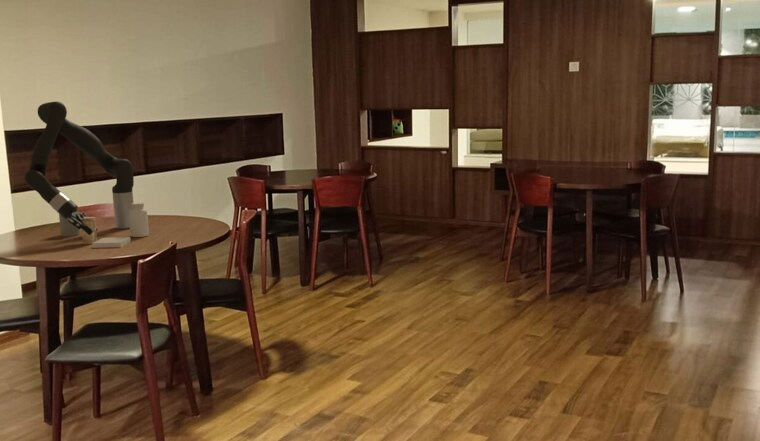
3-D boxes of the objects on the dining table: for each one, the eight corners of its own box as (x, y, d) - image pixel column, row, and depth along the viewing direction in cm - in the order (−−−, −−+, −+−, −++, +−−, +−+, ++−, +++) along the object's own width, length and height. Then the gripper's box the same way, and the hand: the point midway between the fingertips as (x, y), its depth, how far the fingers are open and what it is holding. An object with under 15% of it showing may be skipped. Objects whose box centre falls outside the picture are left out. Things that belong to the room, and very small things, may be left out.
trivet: (103, 242, 329) (102, 237, 329) (130, 241, 329) (130, 237, 329) (92, 247, 318) (92, 243, 317) (121, 247, 317) (120, 242, 317)
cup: (73, 236, 346) (71, 215, 345) (57, 236, 348) (55, 214, 346) (84, 233, 354) (82, 212, 353) (68, 233, 356) (66, 212, 354)
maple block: (87, 241, 332) (84, 217, 330) (97, 241, 331) (95, 216, 330) (83, 243, 327) (80, 218, 325) (93, 243, 327) (91, 218, 325)
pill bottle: (152, 234, 345) (150, 202, 343) (141, 238, 338) (139, 204, 335) (138, 234, 348) (135, 201, 345) (126, 237, 340) (124, 204, 338)
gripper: (62, 201, 319) (93, 229, 321) (75, 197, 333) (105, 223, 335) (50, 214, 320) (81, 241, 322) (65, 209, 334) (94, 235, 336)
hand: (93, 232), depth 329 cm, fingers closed on maple block, 4 cm apart
